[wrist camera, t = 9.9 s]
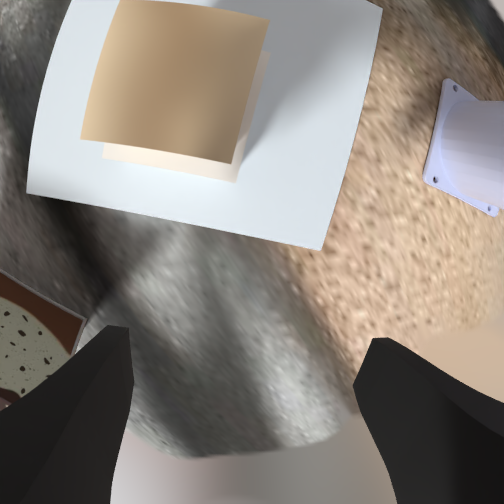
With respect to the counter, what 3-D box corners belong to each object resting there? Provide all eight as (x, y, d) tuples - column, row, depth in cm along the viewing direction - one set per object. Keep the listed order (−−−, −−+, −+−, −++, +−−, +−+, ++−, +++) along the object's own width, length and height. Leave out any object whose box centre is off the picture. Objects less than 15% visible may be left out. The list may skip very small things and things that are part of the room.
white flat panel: (375, 13, 14) (382, 8, 13) (315, 245, 19) (320, 250, 18) (100, -42, 10) (96, -49, 9) (34, 190, 15) (26, 193, 14)
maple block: (251, 57, 11) (270, 19, 7) (225, 156, 12) (231, 164, 8) (148, 40, 10) (120, -1, 6) (122, 138, 12) (79, 139, 7)
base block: (260, 67, 14) (270, 52, 11) (231, 175, 16) (235, 183, 13) (148, 46, 13) (135, 28, 10) (121, 154, 14) (101, 158, 12)
